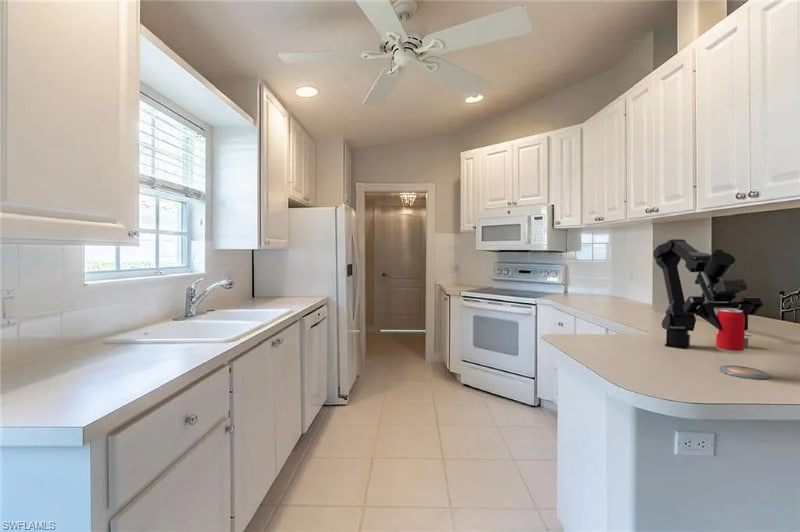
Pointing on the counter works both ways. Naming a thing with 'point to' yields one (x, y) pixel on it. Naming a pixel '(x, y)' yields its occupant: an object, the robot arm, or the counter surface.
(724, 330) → the beverage can
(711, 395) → the counter surface
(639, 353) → the counter surface
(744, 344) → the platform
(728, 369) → the slate coaster
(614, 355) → the counter surface
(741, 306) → the robot arm
